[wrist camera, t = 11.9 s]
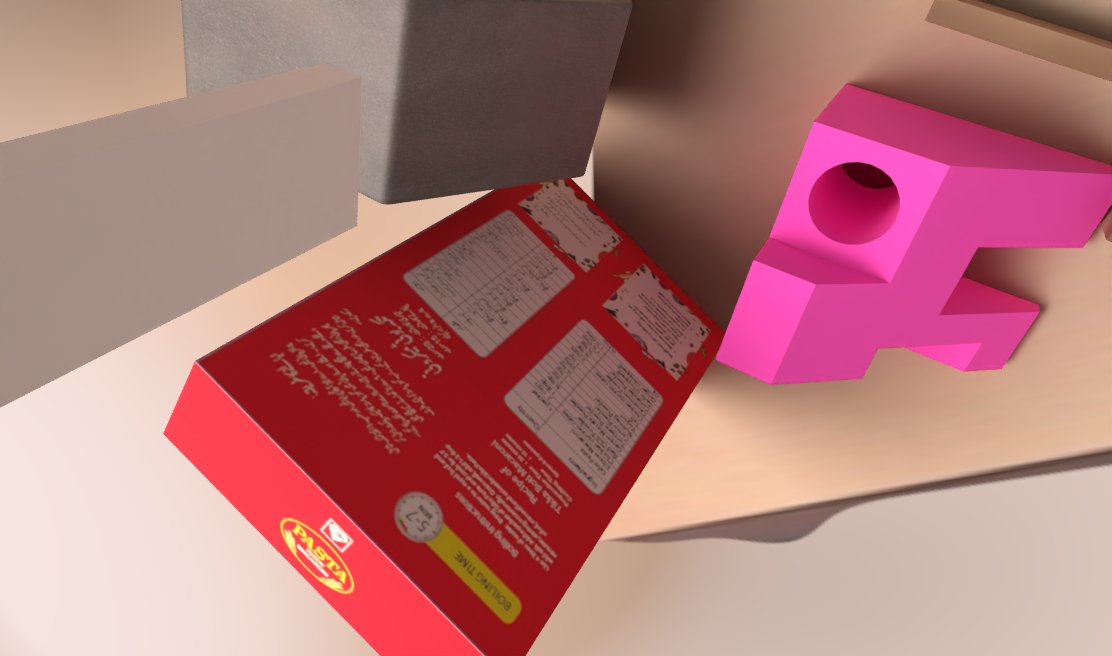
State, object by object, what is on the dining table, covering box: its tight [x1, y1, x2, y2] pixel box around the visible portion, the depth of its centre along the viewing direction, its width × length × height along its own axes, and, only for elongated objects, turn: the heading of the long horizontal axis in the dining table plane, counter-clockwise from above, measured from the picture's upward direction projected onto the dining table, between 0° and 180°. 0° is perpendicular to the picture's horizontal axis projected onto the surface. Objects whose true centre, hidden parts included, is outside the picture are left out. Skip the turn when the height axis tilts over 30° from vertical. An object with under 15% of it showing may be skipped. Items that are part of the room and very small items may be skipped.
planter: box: [181, 0, 633, 204], centre depth 34 cm, size 17×8×21 cm
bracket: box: [715, 84, 1112, 385], centre depth 32 cm, size 12×10×10 cm
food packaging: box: [163, 178, 725, 656], centre depth 36 cm, size 15×5×25 cm, turn 52°
